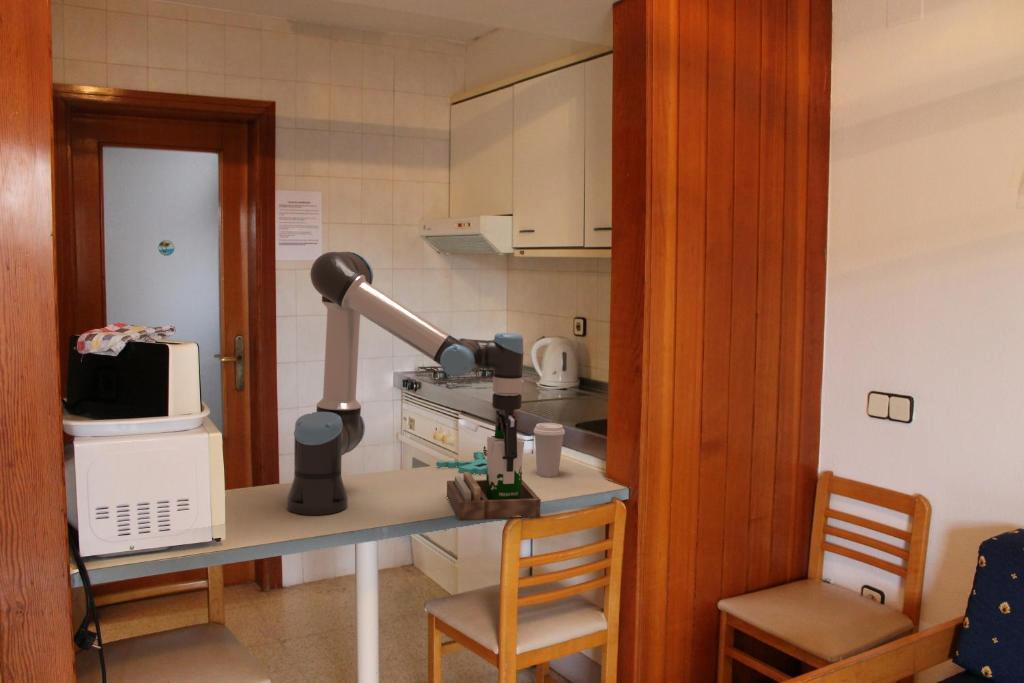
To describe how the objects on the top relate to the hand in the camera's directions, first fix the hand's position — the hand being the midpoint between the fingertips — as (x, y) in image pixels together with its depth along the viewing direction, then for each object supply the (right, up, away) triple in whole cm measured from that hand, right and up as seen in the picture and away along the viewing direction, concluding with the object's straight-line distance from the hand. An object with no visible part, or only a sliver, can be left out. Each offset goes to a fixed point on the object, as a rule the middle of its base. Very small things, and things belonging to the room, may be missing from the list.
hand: (504, 478), depth 228 cm
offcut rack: (-3, -7, 0) cm, 8 cm away
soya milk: (0, -8, +1) cm, 8 cm away
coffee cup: (+13, -5, +36) cm, 38 cm away
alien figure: (-7, -4, +41) cm, 42 cm away
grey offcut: (-11, -7, -2) cm, 13 cm away
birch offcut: (-9, -7, -1) cm, 12 cm away
